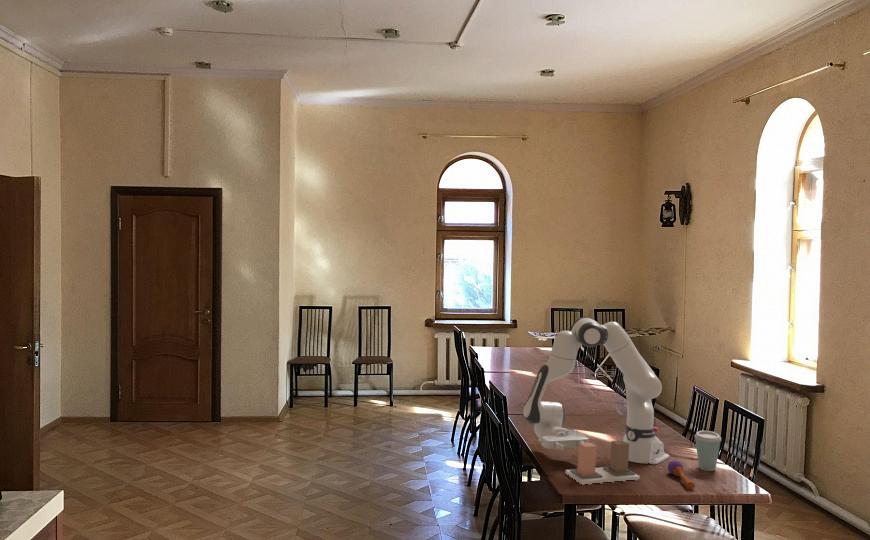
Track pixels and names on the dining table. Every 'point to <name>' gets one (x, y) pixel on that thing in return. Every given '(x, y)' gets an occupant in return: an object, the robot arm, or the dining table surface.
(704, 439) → the disposable coffee cup
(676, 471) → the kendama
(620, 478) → the board
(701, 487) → the dining table surface
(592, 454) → the terracotta pillar
